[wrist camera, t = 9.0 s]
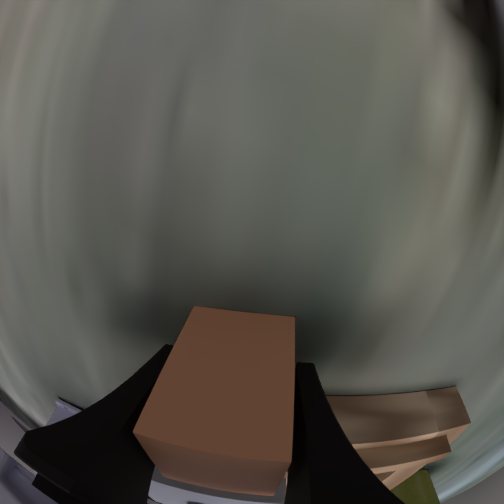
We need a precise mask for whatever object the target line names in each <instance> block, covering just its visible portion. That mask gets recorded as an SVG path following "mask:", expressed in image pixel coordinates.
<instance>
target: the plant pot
mask: <svg viewBox="0 0 504 504" xmlns="http://www.w3.org/2000/svg"><path fill="white" fill-rule="evenodd" d="M390 491H391V492H393V493H394V494H395V495H396V496H397V497H398V498H399V499H400V500H402V501H403V502H404V503H405V504H440V502H439V499H438V496H437V493H436V491H435V488H434V486H433V483H432V480H431V477H430V475H429V473H428V471H427V470H418V471H417V472H415V473H414V474H413V475H411V476H410V477H409V478H407V479H406V480H404V481H403V482H401V483H400V484H399V485H397V486H396V487H394V488H393V489H391V490H390Z"/></svg>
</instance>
